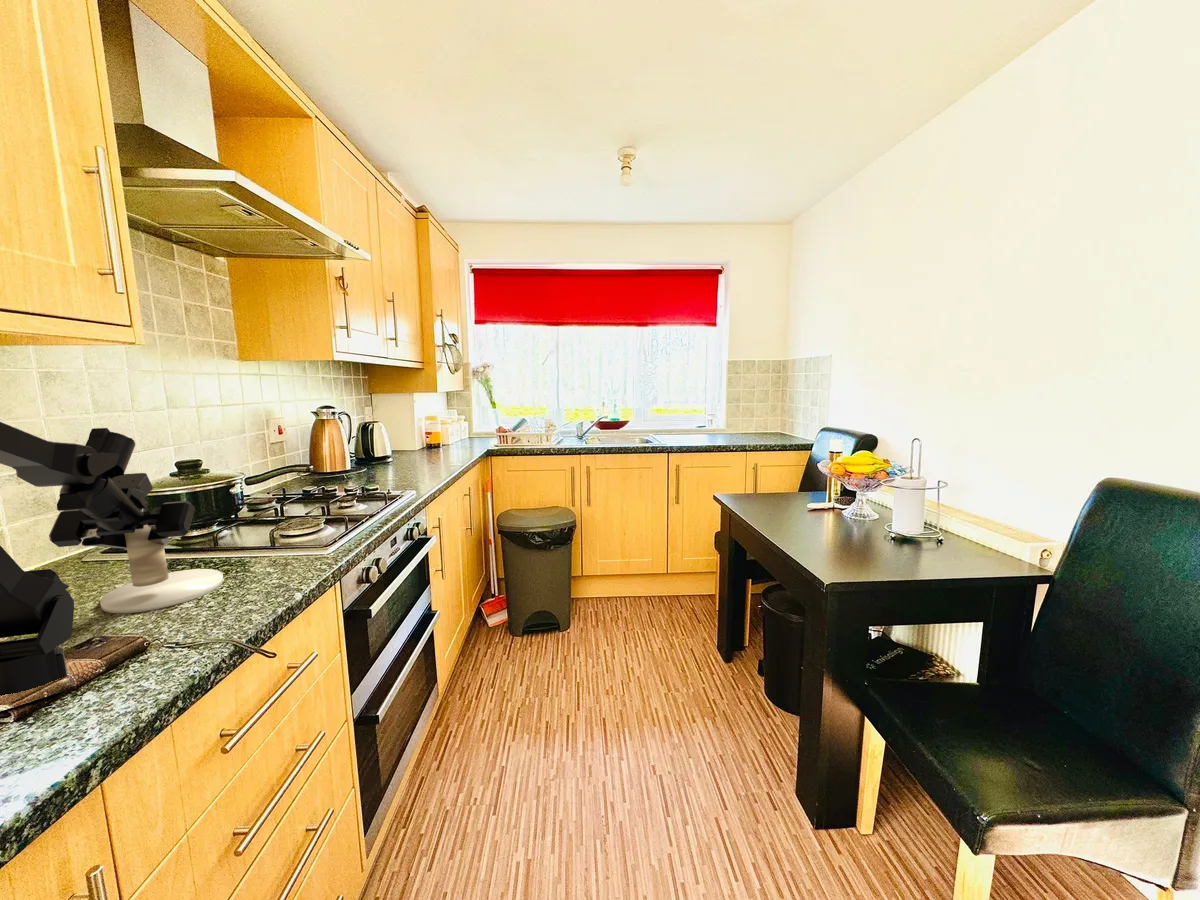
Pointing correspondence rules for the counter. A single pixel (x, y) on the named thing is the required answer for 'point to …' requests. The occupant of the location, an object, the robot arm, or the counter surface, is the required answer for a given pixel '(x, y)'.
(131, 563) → the pepper mill
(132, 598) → the plate
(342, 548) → the counter surface
